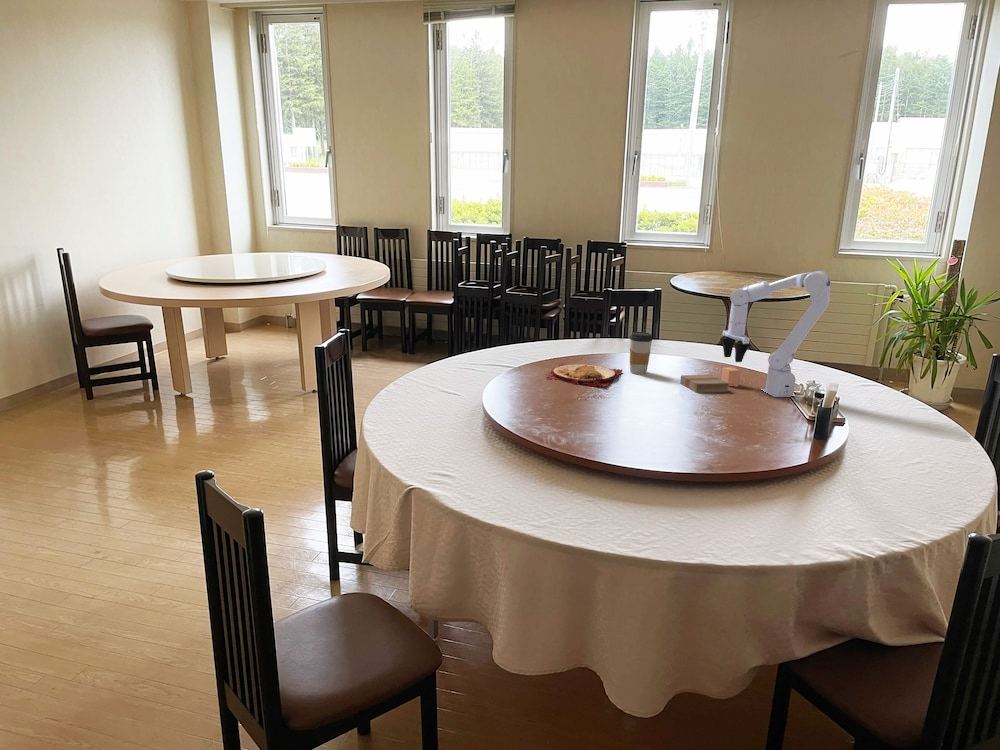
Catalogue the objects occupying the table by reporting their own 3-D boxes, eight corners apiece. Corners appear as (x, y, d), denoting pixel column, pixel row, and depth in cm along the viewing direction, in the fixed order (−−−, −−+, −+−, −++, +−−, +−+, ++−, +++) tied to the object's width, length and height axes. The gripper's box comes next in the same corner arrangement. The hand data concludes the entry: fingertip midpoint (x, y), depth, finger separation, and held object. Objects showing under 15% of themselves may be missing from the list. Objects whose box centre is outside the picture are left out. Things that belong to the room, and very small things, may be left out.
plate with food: (622, 374, 268) (623, 365, 267) (605, 389, 244) (606, 379, 243) (560, 367, 277) (561, 358, 276) (538, 380, 253) (538, 371, 252)
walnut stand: (727, 391, 247) (728, 383, 246) (696, 392, 244) (697, 384, 243) (710, 382, 258) (711, 374, 257) (680, 383, 255) (681, 375, 254)
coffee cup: (651, 375, 265) (654, 336, 262) (628, 374, 265) (632, 335, 262) (647, 370, 273) (650, 332, 270) (625, 369, 273) (628, 331, 270)
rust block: (738, 386, 255) (740, 370, 253) (727, 386, 254) (729, 370, 252) (732, 383, 259) (733, 367, 258) (720, 383, 258) (722, 367, 257)
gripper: (716, 318, 257) (712, 355, 260) (738, 325, 243) (733, 364, 246) (734, 318, 258) (729, 354, 262) (756, 325, 245) (751, 364, 248)
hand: (732, 359), depth 254 cm, fingers open, 7 cm apart
